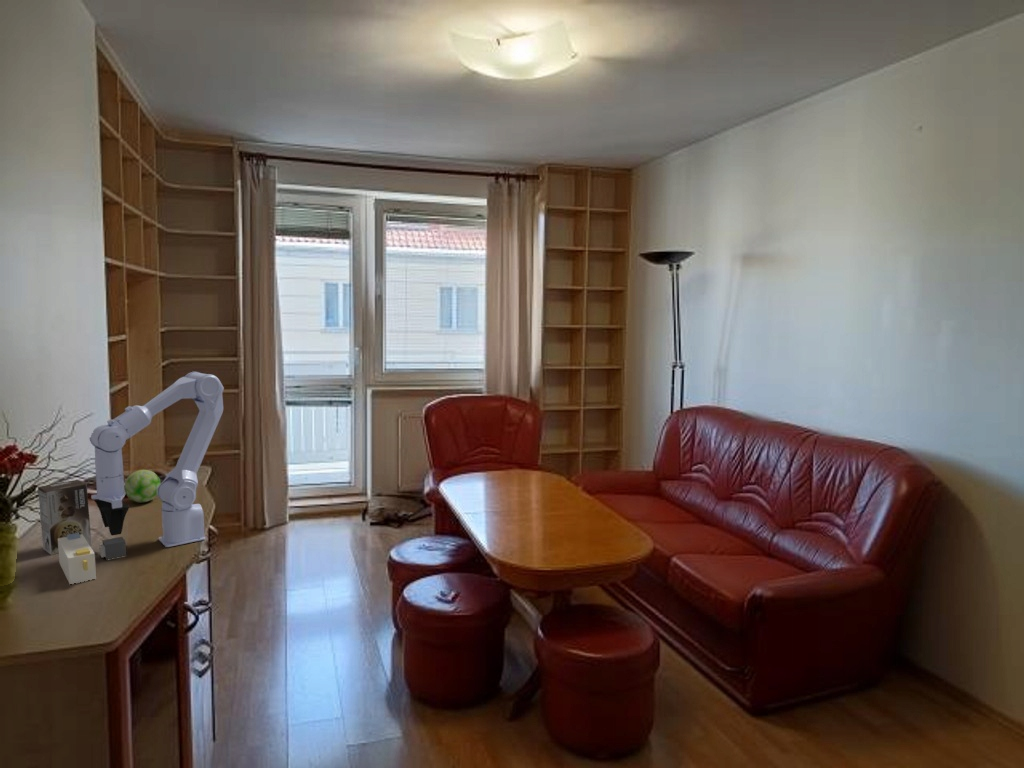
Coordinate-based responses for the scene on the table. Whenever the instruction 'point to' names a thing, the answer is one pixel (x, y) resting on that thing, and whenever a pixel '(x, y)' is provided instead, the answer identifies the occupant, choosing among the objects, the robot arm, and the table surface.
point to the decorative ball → (142, 486)
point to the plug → (113, 548)
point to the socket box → (76, 558)
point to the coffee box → (63, 512)
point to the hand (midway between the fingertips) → (112, 530)
